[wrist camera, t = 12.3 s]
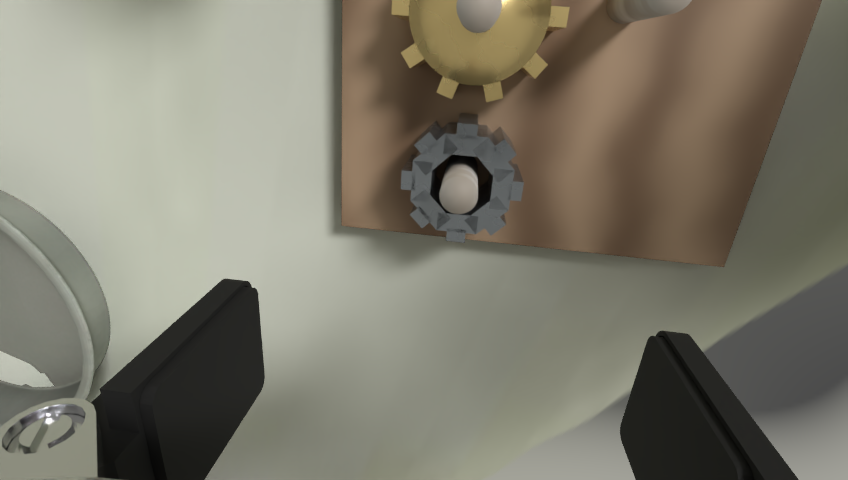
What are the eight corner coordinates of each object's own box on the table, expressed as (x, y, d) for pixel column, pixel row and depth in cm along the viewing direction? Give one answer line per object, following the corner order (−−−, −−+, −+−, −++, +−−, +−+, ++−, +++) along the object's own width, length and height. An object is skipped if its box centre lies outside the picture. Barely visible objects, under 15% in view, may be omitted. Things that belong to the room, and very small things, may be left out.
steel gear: (524, 118, 28) (532, 129, 24) (508, 221, 31) (513, 247, 26) (414, 108, 28) (404, 118, 24) (408, 211, 31) (398, 235, 27)
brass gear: (569, -66, 24) (586, -88, 20) (541, 100, 27) (551, 107, 24) (408, -76, 25) (396, -99, 21) (399, 88, 28) (388, 93, 24)
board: (827, -84, 24) (995, -149, 16) (709, 254, 32) (785, 319, 24) (352, -111, 26) (299, -181, 18) (348, 216, 34) (310, 265, 26)
